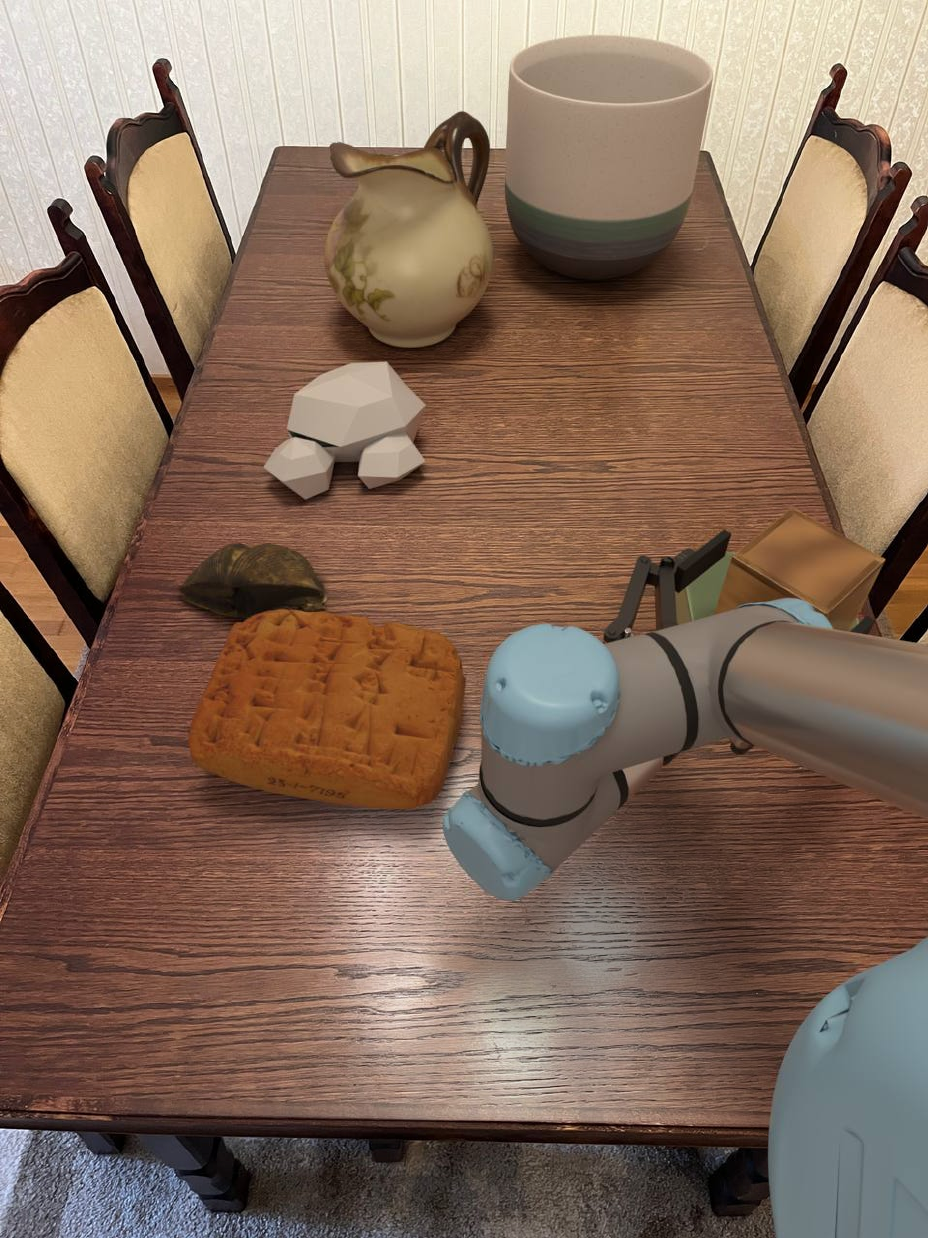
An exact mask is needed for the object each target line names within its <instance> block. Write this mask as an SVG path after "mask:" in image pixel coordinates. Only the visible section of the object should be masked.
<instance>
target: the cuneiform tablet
mask: <svg viewBox="0 0 928 1238" xmlns="http://www.w3.org/2000/svg"><path fill="white" fill-rule="evenodd" d="M458 651H459V650H457V647H456V646H455V644H454V643H453V642H452V641H451V640H450V639H449V638H447V637H446V636H445V635H443V634H442V633H441V632H439V631H435V630H428V629H424V628H419V627H415V626H411V625H408V624H407V625H406V624H404V623H400V622H395V621H388V622H385V623H383V624H382V625H375V624H374V623H373V622H372V621H371V620H370V619H369V618H367V617H362V616H357V615H350V614H336V613H331V612H328V611H324V610H323V611H321V610H320V611H317V612H304V611H299V610H286V609H280V610H274V611H266V612H263V613H260V614H256V615H254V616H252V617H251V618H248V619H245V620H244V621H242V622H239V621H237V622H236V623H234V624H233V626H232V628H231V629H230V631H229V632H228V635H227V637H226V640H225V642H224V645H223V648H222V649H221V652H220V653H219V656H218V657H217V661H216V662H215V665H214V667H213V669H212V673H211V675H210V679H209V680H208V682H207V684H206V686H205V690H204V691H203V693H202V695H201V697H200V699H199V702H198V704H197V707H196V709H195V713H194V715H193V717H192V719H191V722H190V725H189V730H188V739H187V746H188V748H189V751H190V757H191V759H192V762H193V763H194V764H195V765H196V766H198V767H199V768H200V769H201V770H203V771H205V772H208V773H210V774H212V775H216V776H218V777H221V778H223V779H225V780H228V781H230V782H232V783H236V784H239V785H241V786H242V785H243V786H246V787H250V788H253V789H257V790H261V791H265V792H269V793H272V794H278V795H283V796H287V797H288V796H289V797H293V798H299V799H303V800H311V801H317V802H323V803H329V804H337V805H344V806H351V807H357V808H358V807H359V808H365V809H373V810H374V809H375V810H415V809H418V808H421V807H425V806H427V805H429V804H430V803H433V802H434V801H435V800H436V799H438V798H439V796H440V794H441V792H442V790H443V788H444V786H445V783H446V780H447V775H448V771H449V768H450V763H451V760H452V756H453V752H454V748H455V745H456V743H457V740H458V737H459V732H460V730H461V725H462V721H463V715H464V714H463V713H464V700H465V699H464V698H465V690H466V677H465V675H464V670H463V661H462V658H461V657H460V655H459V653H458Z"/></svg>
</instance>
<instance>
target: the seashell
mask: <svg viewBox="0 0 928 1238" xmlns="http://www.w3.org/2000/svg"><path fill="white" fill-rule="evenodd" d="M325 587H326V586H325V585H324V584H323V582H321V581H320V578H319V577H317V575H316V571H315V568H314V567H313V566H312V564H311V563H310V561H308V559H307V557H305V556H304V555H302V554H301V553H299V552H298V551H296V550H294V549H292V548H289V547H287V546H284V545H279V544H275V543H262V544H257V545H254V546H252V547H250V546H248V545H246V544H244V543H241V542H240V543H239V542H235V543H234V542H232V543H229V544H226V545H224V546H223V547H221V548H219V549H217V550H215V551H213V552H212V553H210V554H209V555H208V556H207V557H206V558H205V559H204V560H203V561H201V562H200V564H198V566H197V567H196V568H194V569H193V571H192V572H191V573H190V574H189V575H188V577H187V578H186V579H185V580H184V581H183V583H182V585H181V586H180V588H179V590H180V593H181V594H182V597H181V600H182V601H184V602H187V603H189V604H191V605H195V606H197V607H200V608H202V609H205V610H208V611H209V612H212V613H214V614H217V615H220V616H225V617H228V618H243V619H245V620H247V619H248V618H251V617H252V616H254V615H256V614H260V613H263V612H266V611H274V610H280V609H286V610H299V611H304V612H319V611H321V610H322V609H326V606H325V605H326V603H328V594H327V593H326V588H325Z"/></svg>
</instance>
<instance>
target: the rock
mask: <svg viewBox="0 0 928 1238" xmlns="http://www.w3.org/2000/svg"><path fill="white" fill-rule="evenodd" d="M425 408H426V404H425V402H423V400H422V399H421V398H420V397H418V395H417V394H416V393H415V392H414V391H413V390H411V389H410V387H409V386H408V385H406V383H405V382H404V381H403V379H402V378H401V377H400V376H399V375H398V373H397V372H396V371H395V369H394V368H393V367H392V366H391V365H390V364H389V362H388V361H365V362H364V361H363V362H350V363H347V364H345V365H343V366H340V367H337V368H334V369H331V370H329V371H327V372H324V373H321V374H320V375H318V376H317V377H315V378H314V379H313V380H311V381H310V382H309V383H307V384H306V385H305V386H303V387H302V388H301V389H300V390H298V391H297V392H295V393H294V394H293V398H292V402H291V407H290V411H289V417H288V422H287V426H286V432H287V434H288V437H289V438H288V439H286V440H284V441H283V442H281V443H280V444H279V445H278V446H277V447H275V449H274V450H273V451H272V452H271V454H270V456H269V457H268V459H267V460H266V462H265V464H264V466H263V469H264V470H266V471H267V472H268V473H270V474H271V475H272V476H273V477H274V478H276V479H277V480H278V481H280V483H282V484H283V485H284V486H286V487H287V488H288V489H289V490H291V491H292V492H294V493H296V495H298V496H299V497H301V498H303V499H304V500H308V499H310V498H312V497H314V496H317V495H320V494H322V493H324V492H326V491H329V489H330V485H331V480H332V476H333V472H334V471H333V470H334V467H335V466H334V465H335V463H352V462H353V463H355V462H358V471H357V477H358V478H359V479H360V481H362V482H363V483H364V485H365V486H366V487H367V489H369V490H371V489H374V488H379V487H381V486H385V485H388V484H392V483H396V482H399V481H401V480H402V479H404V478H406V476H408V475H409V474H411V473H412V472H413V471H415V470H417V469H418V468H419V467H421V466H422V465H423V464H424V463H425V462H426V459H425V457H423V455H422V454H421V452H420V451H419V450H418V448H417V446H416V445H415V444H414V441H415V439H416V437H417V432H418V431H419V430H418V429H419V427H420V423H421V420H422V418H423V414H424V411H425Z"/></svg>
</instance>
